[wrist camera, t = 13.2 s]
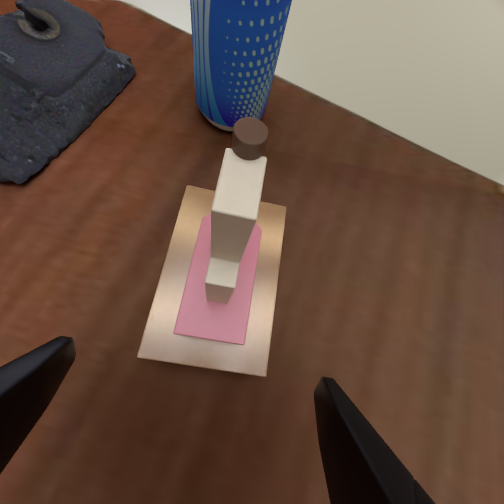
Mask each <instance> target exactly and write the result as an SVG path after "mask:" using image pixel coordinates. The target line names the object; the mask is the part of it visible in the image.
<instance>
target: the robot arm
mask: <svg viewBox="0 0 504 504" xmlns="http://www.w3.org/2000/svg"><path fill="white" fill-rule="evenodd" d="M75 356H76V352H75V341H74V339H73V338H72V337H66V336H59V337H57V338H55V339H53V340H51V341H49V342H47V343H45V344H44V345H42V346H40V347H38V348H36V349H34V350H32V351H30V352H28V353H26V354H25V355H23V356H21V357H19V358H17V359H15V360H13V361H11V362H9V363H7V364H5V365H4V366H2V367H0V474H1V472H2V471H3V470H4V468H5V467H6V465H7V464H8V462H9V461H10V460H11V458H12V457H13V455H14V454H15V452H16V451H17V450H18V448H19V447H20V445H21V444H22V443H23V441H24V440H25V438H26V437H27V435H28V434H29V433H30V431H31V430H32V428H33V427H34V426H35V424H36V423H37V421H38V420H39V418H40V417H41V416H42V414H43V413H44V411H45V410H46V408H47V407H48V405H49V403H50V402H51V400H52V398H53V397H54V395H55V393H56V391H57V390H58V388H59V386H60V385H61V383H62V381H63V379H64V378H65V376H66V374H67V372H68V371H69V369H70V367H71V365H72V364H73V362H74V360H75ZM314 401H315V411H316V422H317V432H318V440H319V446H320V452H321V457H322V462H323V467H324V472H325V478H326V483H327V488H328V493H329V498H330V503H331V504H435V503H434V501H433V500H432V499H431V498H430V497H429V495H428V494H427V493H426V492H425V491H424V489H423V488H422V487H421V486H420V484H419V483H418V482H417V481H416V480H414V478H413V476H412V475H411V473H410V472H409V471H408V470H407V469H406V467H405V466H404V465H403V464H402V462H401V461H400V460H399V459H398V458H397V456H396V455H395V454H394V453H393V451H392V450H391V449H390V448H389V446H388V445H387V444H386V443H385V442H384V440H383V439H382V438H381V437H380V435H379V434H378V433H377V432H376V430H375V429H374V428H373V427H372V426H371V424H370V423H369V422H368V421H367V419H366V418H365V417H364V416H363V415H362V413H361V412H360V411H359V410H358V408H357V407H356V406H355V405H354V403H353V402H352V401H351V400H350V399H349V397H348V396H347V395H346V394H345V392H344V391H343V390H342V389H341V387H340V386H339V385H338V384H337V383H336V381H335V380H334V379H333V378H329V377H321V379H320V381H319V383H318V385H317V387H316V389H315V392H314Z"/></svg>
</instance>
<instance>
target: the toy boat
mask: <svg viewBox="0 0 504 504" xmlns="http://www.w3.org/2000/svg"><path fill="white" fill-rule="evenodd" d="M268 135H269V133H268V129H267V127H266V125H265V124H264V123H263V122H262V121H260V120H258V119H256V118H252V117H245V118H241V119H239V120H238V121H237V122H236V123H235V125H234V127H233V135H232V144H231V149H230V148H227V149H226V150H225V154H224V158H223V162H222V166H221V170H220V175H219V179H218V183H217V187H216V191H215V195H214V199H213V203H212V207H211V213H210V214H208V215H206V216H204V217H203V218H202V221H201V225H200V229H199V233H198V237H197V241H196V245H195V249H194V253H193V257H192V261H191V265H190V268H189V272H188V276H187V280H186V284H185V288H184V292H183V296H182V300H181V304H180V308H179V312H178V316H177V320H176V324H175V328H174V332H173V333H174V334H177V335H184V336H190V337H196V338H202V339H208V340H214V341H220V342H226V343H232V344H238V345H244V344H245V338H246V332H247V325H248V319H249V312H250V306H251V299H252V293H253V286H254V280H255V273H256V267H257V260H258V254H259V247H260V241H261V234H262V229H261V228H260V227H259V225H258V224H257V223H256V221H257V217H258V211H259V205H260V199H261V193H262V187H263V181H264V174H265V168H266V162H267V158H266V157H263V153H264V150H265V146H266V143H267V139H268Z"/></svg>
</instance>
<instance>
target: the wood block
mask: <svg viewBox="0 0 504 504" xmlns="http://www.w3.org/2000/svg"><path fill="white" fill-rule="evenodd" d="M214 195H215V191H212V190H208V189H203V188H199V187H194V186H190V185H187V187H186V190H185V194H184V197H183V201H182V204H181V207H180V211H179V214H178V218H177V221H176V224H175V228H174V231H173V235H172V238H171V241H170V245H169V248H168V252H167V255H166V259H165V262H164V265H163V269H162V272H161V276H160V279H159V282H158V286H157V289H156V293H155V296H154V299H153V303H152V306H151V310H150V313H149V317H148V320H147V323H146V327H145V330H144V334H143V337H142V340H141V344H140V347H139V351H138V354H137V358H142V359H149V360H155V361H162V362H168V363H175V364H181V365H188V366H195V367H201V368H208V369H214V370H221V371H228V372H234V373H241V374H247V375H254V376H260V377H266V376H267V367H268V359H269V351H270V342H271V334H272V325H273V317H274V308H275V300H276V292H277V283H278V275H279V266H280V258H281V250H282V241H283V233H284V224H285V216H286V207H284V206H280V205H275V204H271V203H266V202H262V201H260V205H259V211H258V217H257V221H256V223H257V224H258V225H259V227H260V228H261V229H262V234H261V241H260V247H259V254H258V260H257V267H256V273H255V280H254V286H253V293H252V299H251V306H250V312H249V319H248V325H247V332H246V338H245V344H244V345H238V344H232V343H226V342H220V341H214V340H208V339H202V338H196V337H190V336H184V335H177V334H174V333H173V332H174V328H175V324H176V320H177V316H178V312H179V308H180V304H181V300H182V296H183V292H184V288H185V284H186V280H187V276H188V272H189V268H190V265H191V261H192V257H193V253H194V249H195V245H196V241H197V237H198V233H199V229H200V225H201V221H202V218H203V217H204V216H206V215H208V214H210V213H211V207H212V203H213V199H214Z"/></svg>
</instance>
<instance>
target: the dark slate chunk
mask: <svg viewBox="0 0 504 504" xmlns="http://www.w3.org/2000/svg"><path fill="white" fill-rule="evenodd" d="M15 4H16V7H17V8H18V9H20V10H21V11H19V10H16V11H15V12H14V13H8V14H5V15H3V16H1V15H0V181H1V182H7V181H14V182H16V183H17V184H21V183H23V182H24V181H26V180H27V179H28V178H29V177H30V176H32V175H34V174H35V173H37V172H38V171H39V170H40V169H41V168H43V167H44V166H45V165H48V164H49V163H50V160H52V159H53V158H56V157H57V156H58V155H59V152H61V151H62V150H64V149H65V148H66V147H67V145H68V144H69V143H71V142H73V141H75V140H76V138H77V137H78V136H79V134H80V133H81V132H83V131H84V130H85V129H86V128H87V127H88V126H90V123H91V122H92V121H93V120H94V119H95V118H96V117H97V116H98V115H99V114H100V113H101V112H102V111H103V110H104V108H105V106H107V105H109V104H110V102H111V101H112V100H113V99H114V98H115V96H116V95H117V94H118V93H119V92H121V91H122V90H123V88H124V87H125V86H126V84H127V82H129V81H130V79H131V78H132V77H133V75H134V72H135V68H134V66H133V65H131V64H130V63H129V61H130V60H131V59H130V57H129V56H127V55H125V54H122V53H121V52H119V51H117V52H116V51H115V50H111V49H109V48H107V47H105V43H104V38H105V36H104V34H103V30H102V27H101V23H100V22H99V21H98V20H97V19H95V18H94V17H93V16H92V15H90V14H89V13H87V12H86V11H84V10H82V9H80V8H79V7H76V6H74V5H72V4H70V3H69V2H67V1H64V0H18V1H16V2H15Z"/></svg>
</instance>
